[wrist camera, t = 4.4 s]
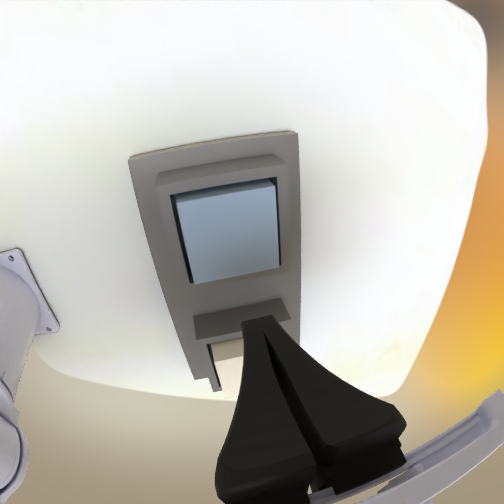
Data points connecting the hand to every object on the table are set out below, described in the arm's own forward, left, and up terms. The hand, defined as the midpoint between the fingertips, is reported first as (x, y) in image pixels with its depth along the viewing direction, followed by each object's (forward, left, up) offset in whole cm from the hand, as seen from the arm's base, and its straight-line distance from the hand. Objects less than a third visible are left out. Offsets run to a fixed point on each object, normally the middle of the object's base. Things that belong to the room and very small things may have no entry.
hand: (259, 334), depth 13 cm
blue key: (0, +2, -7) cm, 8 cm away
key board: (0, -4, -9) cm, 10 cm away
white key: (0, -9, -6) cm, 11 cm away
